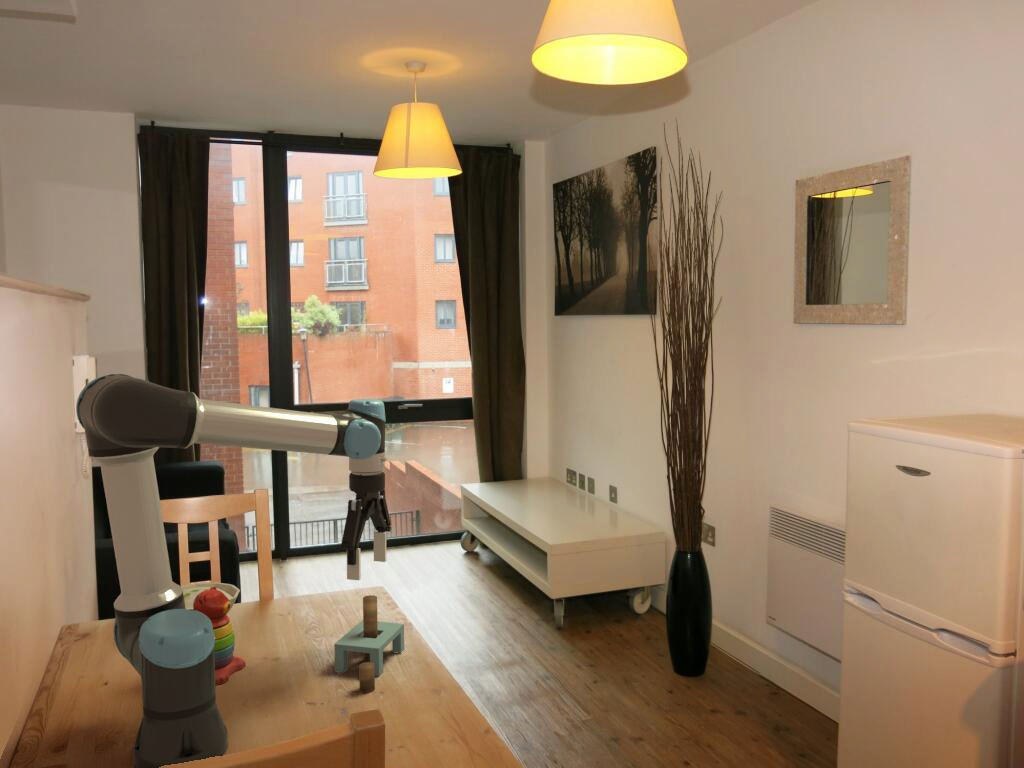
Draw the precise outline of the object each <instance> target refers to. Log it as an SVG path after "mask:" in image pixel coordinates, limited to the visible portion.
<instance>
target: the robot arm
mask: <svg viewBox="0 0 1024 768" xmlns="http://www.w3.org/2000/svg"><path fill="white" fill-rule="evenodd" d="M385 409H386V408H385V404H384V401H382V400H381V399H376V398H356V399H350V401H349V402H348V407H347V409H345V410H333V411H332V410H331V411H328V410H327V411H310V412H308V411H300V410H291V409H283V408H275V407H267V406H260V405H259V406H258V405H252V404H251V405H250V404H245V403H244V404H242V403H234V402H226V401H219V400H212V399H211V400H210V399H203V398H201V399H200V398H199V397H198V396H197V395H196V393H195V392H193V391H185V390H179V389H174V388H170V387H166V386H162V385H160V384H157V383H154V382H151V381H149V380H146V379H142V378H138V377H134V376H132V375H128V374H124V373H110V374H106V375H105V374H104V375H101V376H98V377H96V378H94V379H93V380H91V381H89V382H88V383H86V385H85V386H84V387H83V389H82V390H81V391H80V393H79V395H78V397H77V400H76V407H75V411H76V417H77V420H78V421H79V422H78V423H79V425H80V426H81V427H82V428H83V430H84V433H85V439H86V447H87V451H88V457H89V459H91V460H93V461H94V462H96V463H98V464H99V465H100V470H101V471H100V472H101V477H102V483H103V489H104V494H105V499H106V507H107V508H106V509H107V513H108V514H107V515H108V519H109V526H110V532H111V537H112V544H113V545H112V546H113V550H114V557H115V562H116V568H117V575H118V580H119V586H120V594H119V595H118V596H117V598H116V599H114V600H115V601H114V602H113V608H114V616H115V620H114V623H113V630H112V632H113V640H114V643H115V646H116V648H117V650H118V652H119V653H120V654H121V656H122V657H123V658H124V659H126V660H127V661H128V662H129V664H130V665H131V666H132V667H133V669H134V670H135V671H136V672H137V674H138V675H139V676H140V679H141V680H140V681H141V694H142V695H141V697H142V717H141V722H140V724H139V728H138V731H137V734H136V737H135V741H134V744H133V750H132V753H133V756H132V757H133V765H134V766H135V768H159V767H161V766H164V765H171V764H178V763H184V762H189V761H194V760H201V759H206V758H209V757H215V756H221V755H222V756H224V754H226V751H228V750H227V749H228V747H229V732H228V729H227V727H226V725H225V723H224V720H223V718H222V715H221V712H220V709H219V706H218V704H217V697H216V695H217V693H216V690H217V689H216V685H215V657H214V645H215V637H214V632H213V626H212V622H211V620H210V619H209V618H208V617H207V616H206V615H205V614H203V613H201V612H199V611H190V610H189V609H186V608H185V602H184V596H183V590H182V587H181V586H182V585H179V584H177V583H176V582H174V581H173V578H172V571H171V566H170V565H171V564H170V558H169V552H168V545H167V538H166V532H165V526H164V525H165V524H164V520H163V514H162V513H163V512H162V507H161V501H160V500H161V499H160V493H159V485H158V480H157V474H156V467H155V462H154V461H155V460H154V455H155V453H156V452H157V451H158V450H159V448H173V449H188V448H189V447H190V446H192V445H193V444H196V445H197V444H199V445H211V446H221V447H223V446H224V447H235V448H247V449H256V450H257V449H259V450H270V451H282V452H294V453H304V454H305V453H308V454H316V455H317V454H318V455H329V456H335V457H336V456H338V457H348V470H349V471H350V473H349V476H348V481H349V482H348V484H349V485H348V486H349V487H348V489H349V490H350V491H351V492H352V493H353V492H354V493H355V499H349V500H348V502H347V514H346V517H345V525H344V529H343V535H342V540H341V545H340V546H341V549H344V550H346V580H351V581H360V580H361V579H362V578H361V573H362V572H361V567H362V566H361V548H359V546H360V544H361V539H362V536H363V532H364V529H365V526H366V523H367V521H369V519H370V520H371V523H372V525H373V527H374V529H375V531H373V562H381V563H382V562H383V563H386V562H387V532H391V531H392V528H391V525H392V524H391V523H392V522H391V518H390V514H389V508H388V504H387V499H386V474H385V472H384V470H385V468H386V462H387V457H386V455H385V454H386V449H385V448H386V422H387V420H386V412H385ZM222 756H221V757H222Z"/></svg>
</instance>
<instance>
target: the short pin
mask: <svg viewBox="0 0 1024 768" xmlns="http://www.w3.org/2000/svg"><path fill="white" fill-rule="evenodd" d="M358 666H359V667H358V668H359V670H358V671H359V677H358V678H359V679H358V681H359V692H361V693H363V694H369V693H372V692H374V691H375V690H376V682H375V681H376V679H375V678H376V676H375V668H374V663H371V662H362V663H360V664H359V665H358Z"/></svg>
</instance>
